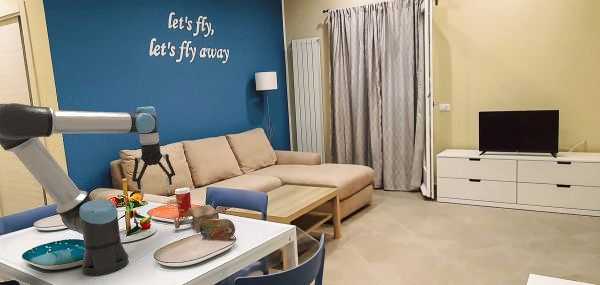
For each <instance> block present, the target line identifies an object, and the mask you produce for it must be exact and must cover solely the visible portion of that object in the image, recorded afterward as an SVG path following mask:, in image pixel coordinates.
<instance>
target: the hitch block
mask: <svg viewBox="0 0 600 285" xmlns="http://www.w3.org/2000/svg"><path fill="white" fill-rule="evenodd" d="M188 210H189V217H190V216H193V221H194V223H190V225H191V226H192V228H193V230H195V231H196V233H201V232H200V225H201V223H202V222H203V221H205V220H207V219H220V214H219V211H217V210H216V209H215V208H214V207H213V206H212V205H211V204H204V205H199V206H193V207H191V208H188Z"/></svg>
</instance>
